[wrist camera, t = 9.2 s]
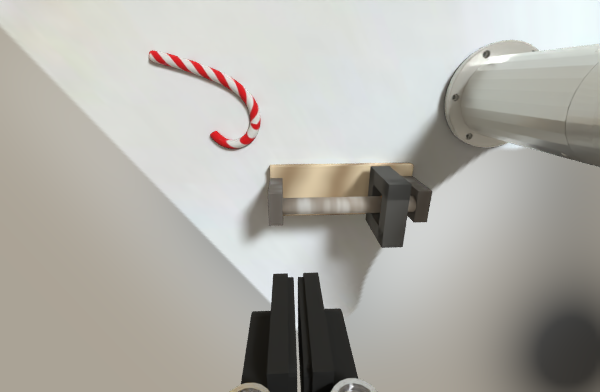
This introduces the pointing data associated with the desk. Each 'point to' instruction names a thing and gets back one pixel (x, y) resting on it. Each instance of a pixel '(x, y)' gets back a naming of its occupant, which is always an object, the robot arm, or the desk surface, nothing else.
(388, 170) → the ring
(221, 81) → the candy cane
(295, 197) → the rail fixture
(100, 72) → the desk surface
